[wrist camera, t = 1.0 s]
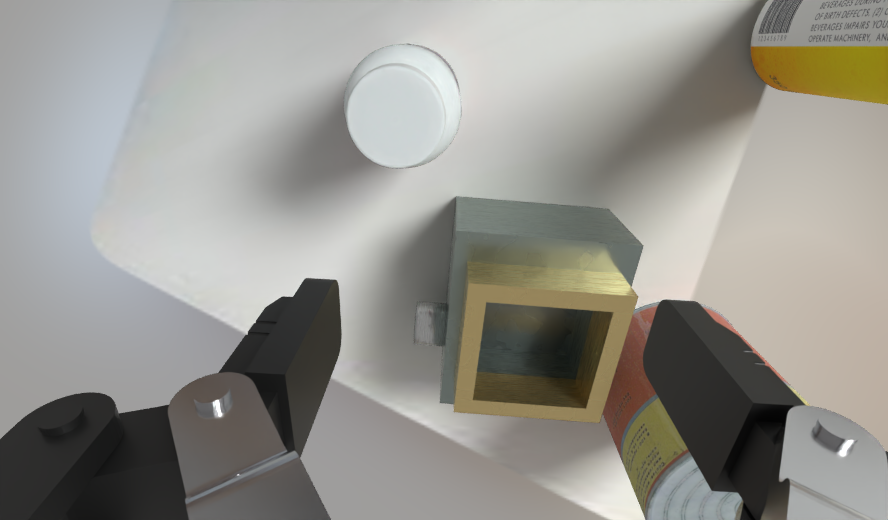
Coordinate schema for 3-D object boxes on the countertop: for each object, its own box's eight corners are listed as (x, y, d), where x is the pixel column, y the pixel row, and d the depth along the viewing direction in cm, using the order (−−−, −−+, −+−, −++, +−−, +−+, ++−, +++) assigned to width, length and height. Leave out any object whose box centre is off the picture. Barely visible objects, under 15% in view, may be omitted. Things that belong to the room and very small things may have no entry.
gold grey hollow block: (425, 193, 29) (414, 246, 21) (608, 208, 29) (663, 266, 22) (416, 344, 34) (405, 430, 27) (571, 356, 34) (605, 445, 27)
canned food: (673, 435, 38) (761, 591, 27) (559, 387, 36) (605, 535, 25) (770, 336, 33) (923, 476, 22) (646, 276, 31) (747, 397, 20)
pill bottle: (386, 151, 28) (354, 199, 19) (356, 61, 26) (304, 68, 17) (470, 127, 27) (477, 165, 18) (446, 32, 25) (440, 23, 16)
